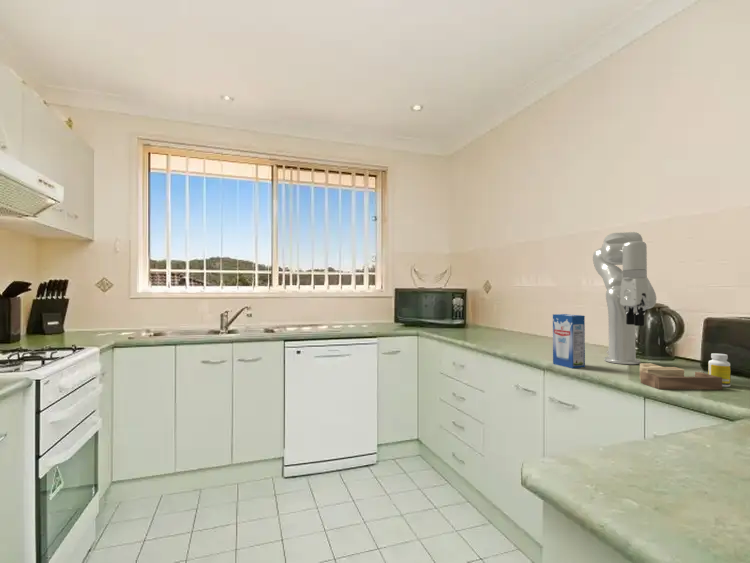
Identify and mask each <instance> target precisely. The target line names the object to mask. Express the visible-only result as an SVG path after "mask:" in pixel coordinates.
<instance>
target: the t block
mask: <svg viewBox="0 0 750 563" xmlns="http://www.w3.org/2000/svg"><path fill="white" fill-rule="evenodd" d="M641 372H647V373H650V374H654V375H657V376H663V377H685V369H684V368H679V367H676V366H662V365H658V364H655V363H652V362H651V363H650V362H649V363H642V362H640V364H639V380H641Z"/></svg>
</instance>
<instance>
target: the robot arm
mask: <svg viewBox="0 0 750 563" xmlns="http://www.w3.org/2000/svg"><path fill="white" fill-rule="evenodd" d="M647 247H648V246H647V244H646V242H645V241H643V236H642V234H640V233H639V232H635V231H633V232H632V231H629V232H625V231H623V232H612V233H609V234H608V235H606V236H605V237H604V239H603V244H602V246H601V248H598V249H596V250H595V251H594V252H593V254H592V262H593V266H594V269H595V271H596V272H597V274H598V275H599V276H600V277H601V278H602V281H603V284H604V287H605V289H606V292H605V300H606V307H607V312H608V313H607V316H608V317H607V318H608V349H607V350H606V354H608V356H605V357H604V361H605V362H607V363H613V364H617V365H618V364H621V365H640V363H641V360H640V359H638V358H636V356H637V355H636V354H637V352H636V347H637V346H636V327H638V326H639V327H641V326H643V327H644V326H645V314H646V312H647V310H649V309H652V308H654V307H655V305H656V303H657V295H656V292H655V289H654V287H653V285H652V283H651V281H650V280H649V278H648V267H647V266H648V262H647V261H648V259H647V258H648V252H647ZM619 266H622V269H621V267H619Z"/></svg>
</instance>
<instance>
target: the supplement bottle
mask: <svg viewBox="0 0 750 563" xmlns="http://www.w3.org/2000/svg"><path fill="white" fill-rule="evenodd" d="M710 358H711V359H710V360H708V363H707V365H708V366H707V368H708V370H707V371H708V372H707V374H709V375H713V376H717V377H721V378H722V388H729V387H731V371H732V370H731V362H729V361H728V360H729V358H728V354H725V353H716V352H715V353H714V352H713V353H711V354H710Z"/></svg>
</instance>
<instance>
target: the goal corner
mask: <svg viewBox="0 0 750 563" xmlns="http://www.w3.org/2000/svg"><path fill="white" fill-rule="evenodd" d="M640 384H643V385H646V386H649V387H652V388H653V389H657V390H723V387H722V378H721V377H717V376H713V375H709V374H708V373H706V372H705V373H704V372H702V371H701V372H700V371H695V372H694V376H684V377H663V376H657V375H654V374H650V373H647V372H641V379H640Z"/></svg>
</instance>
